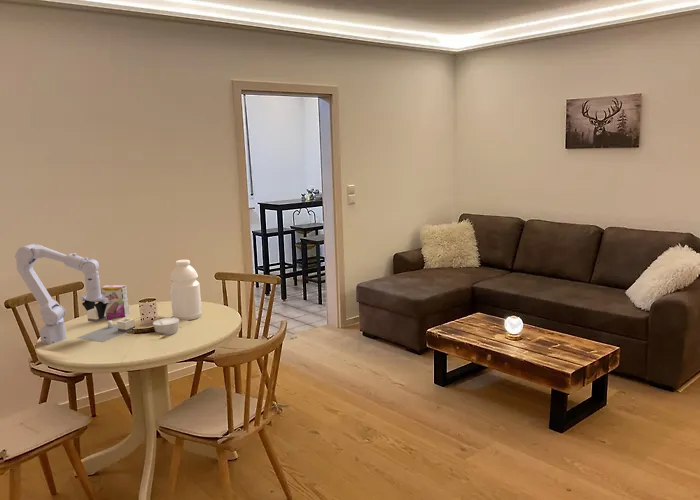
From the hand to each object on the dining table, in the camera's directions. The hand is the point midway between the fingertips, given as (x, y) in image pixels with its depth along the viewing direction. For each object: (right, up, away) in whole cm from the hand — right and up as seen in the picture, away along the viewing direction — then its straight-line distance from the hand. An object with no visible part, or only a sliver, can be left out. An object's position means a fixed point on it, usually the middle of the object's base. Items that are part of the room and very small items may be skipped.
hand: (96, 317), depth 248 cm
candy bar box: (-4, -4, +32) cm, 32 cm away
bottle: (+31, -3, +31) cm, 44 cm away
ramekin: (+28, -8, +9) cm, 30 cm away
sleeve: (0, -1, 0) cm, 1 cm away
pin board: (+2, -9, +6) cm, 11 cm away
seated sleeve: (+9, -7, +9) cm, 15 cm away
